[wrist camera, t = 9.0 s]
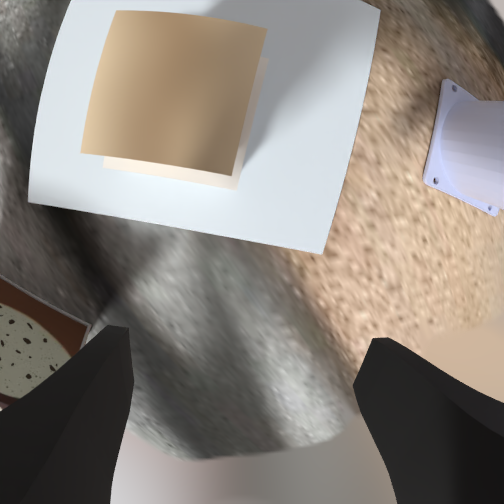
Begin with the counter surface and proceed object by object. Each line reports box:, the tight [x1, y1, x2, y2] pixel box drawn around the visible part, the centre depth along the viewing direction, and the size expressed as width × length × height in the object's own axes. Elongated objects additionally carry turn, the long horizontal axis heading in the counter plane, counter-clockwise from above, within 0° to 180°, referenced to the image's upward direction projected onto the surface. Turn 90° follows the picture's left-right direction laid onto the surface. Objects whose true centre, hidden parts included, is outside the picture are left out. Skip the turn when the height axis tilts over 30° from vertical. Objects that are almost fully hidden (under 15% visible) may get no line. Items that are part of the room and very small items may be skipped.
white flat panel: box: [28, 0, 381, 254], centre depth 14 cm, size 18×16×1 cm
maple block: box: [80, 10, 267, 176], centre depth 9 cm, size 4×4×4 cm
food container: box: [0, 274, 91, 411], centre depth 14 cm, size 12×6×10 cm, turn 61°
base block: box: [103, 56, 269, 191], centre depth 13 cm, size 6×6×3 cm
